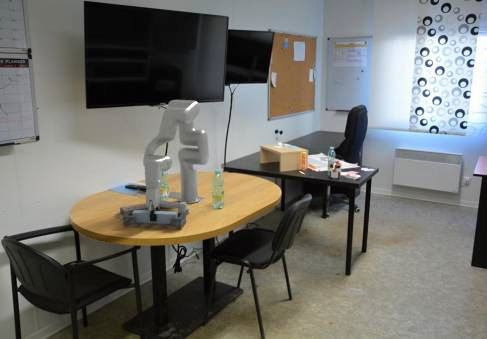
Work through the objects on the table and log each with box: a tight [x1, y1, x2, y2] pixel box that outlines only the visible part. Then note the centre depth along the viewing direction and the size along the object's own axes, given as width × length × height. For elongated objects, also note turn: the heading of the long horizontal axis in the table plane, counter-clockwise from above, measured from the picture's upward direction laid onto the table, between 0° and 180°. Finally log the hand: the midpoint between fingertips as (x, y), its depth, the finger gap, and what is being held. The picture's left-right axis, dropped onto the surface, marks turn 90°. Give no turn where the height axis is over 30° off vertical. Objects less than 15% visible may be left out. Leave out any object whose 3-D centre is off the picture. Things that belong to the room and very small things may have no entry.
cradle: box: [122, 210, 187, 231], centre depth 211 cm, size 29×10×6 cm, turn 84°
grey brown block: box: [116, 203, 153, 220], centre depth 227 cm, size 18×5×10 cm
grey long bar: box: [159, 200, 190, 215], centre depth 232 cm, size 5×7×25 cm
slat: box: [132, 210, 179, 224], centre depth 211 cm, size 22×4×5 cm, turn 84°
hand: (155, 218), depth 211 cm, fingers open, 4 cm apart
